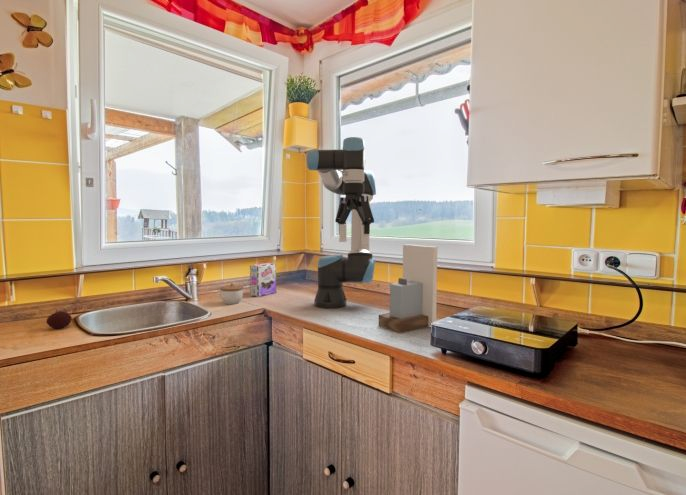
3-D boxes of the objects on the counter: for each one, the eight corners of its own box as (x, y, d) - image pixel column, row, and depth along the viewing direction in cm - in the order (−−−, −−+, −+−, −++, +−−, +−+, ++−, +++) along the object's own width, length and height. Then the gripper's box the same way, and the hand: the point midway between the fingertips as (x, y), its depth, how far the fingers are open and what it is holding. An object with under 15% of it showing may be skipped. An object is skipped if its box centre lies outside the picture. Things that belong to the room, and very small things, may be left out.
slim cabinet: (389, 315, 139) (390, 278, 138) (411, 311, 145) (411, 275, 144) (400, 318, 134) (401, 280, 133) (422, 314, 140) (422, 278, 139)
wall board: (402, 318, 150) (403, 244, 148) (405, 317, 151) (406, 244, 149) (432, 328, 137) (433, 247, 134) (435, 327, 138) (437, 246, 135)
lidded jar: (219, 306, 172) (219, 286, 171) (221, 301, 182) (221, 282, 181) (243, 304, 174) (243, 285, 174) (244, 299, 185) (243, 281, 184)
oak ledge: (378, 325, 140) (378, 314, 140) (405, 319, 148) (405, 309, 148) (400, 333, 130) (400, 322, 130) (428, 326, 138) (428, 316, 138)
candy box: (258, 297, 190) (257, 265, 189) (250, 296, 194) (249, 264, 192) (276, 292, 202) (276, 263, 201) (268, 291, 205) (268, 262, 204)
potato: (42, 331, 133) (41, 315, 133) (54, 324, 142) (53, 309, 141) (66, 330, 135) (65, 313, 135) (77, 323, 144) (76, 308, 143)
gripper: (326, 184, 139) (326, 241, 141) (366, 179, 119) (366, 245, 120) (342, 185, 143) (342, 240, 145) (384, 180, 123) (384, 244, 124)
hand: (353, 242), depth 133 cm, fingers open, 13 cm apart
